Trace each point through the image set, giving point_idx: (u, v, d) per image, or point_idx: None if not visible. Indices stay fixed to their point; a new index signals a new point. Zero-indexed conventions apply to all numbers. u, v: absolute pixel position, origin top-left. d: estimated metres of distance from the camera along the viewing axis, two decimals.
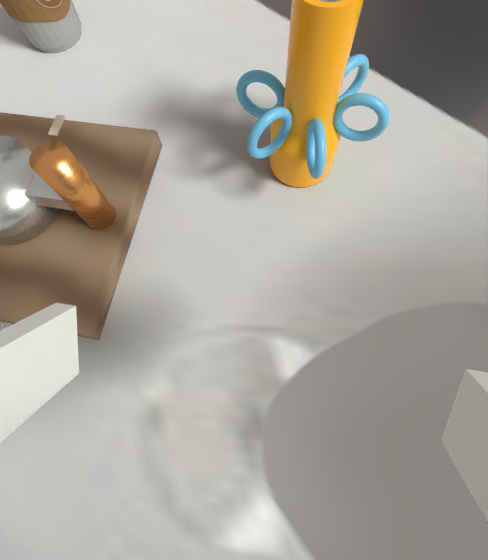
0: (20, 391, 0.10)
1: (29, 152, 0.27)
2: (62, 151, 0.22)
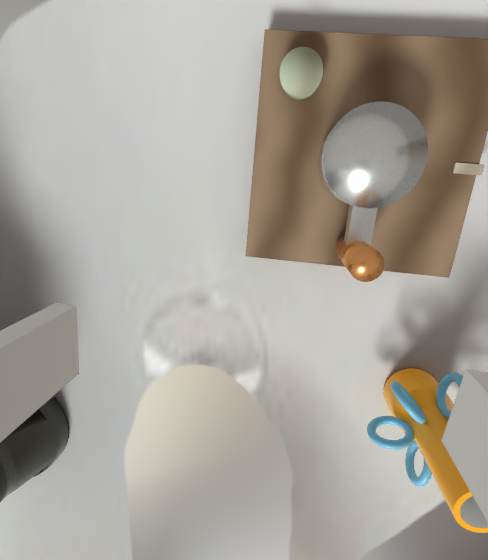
0: (20, 391, 0.10)
1: (402, 196, 0.27)
2: (371, 275, 0.26)
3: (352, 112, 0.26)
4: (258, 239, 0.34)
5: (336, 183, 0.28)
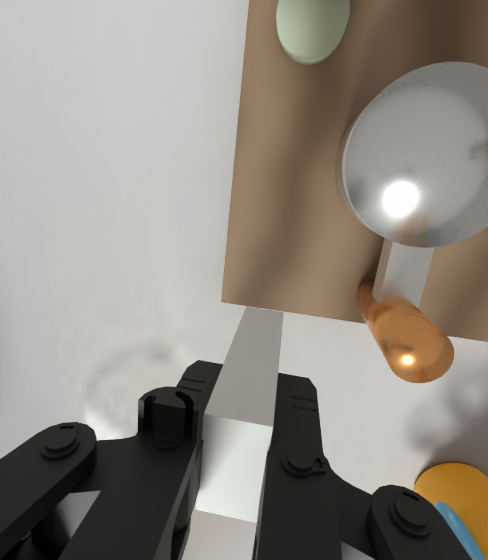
0: None
1: (479, 229, 0.16)
2: (428, 373, 0.14)
3: (401, 81, 0.15)
4: (240, 279, 0.23)
5: (367, 204, 0.16)
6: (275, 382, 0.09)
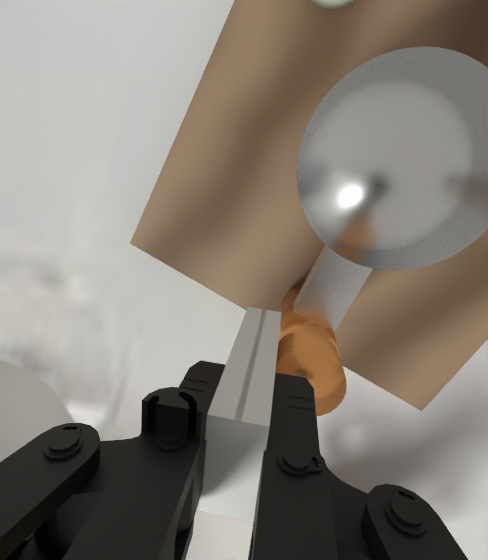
0: None
1: (426, 264, 0.14)
2: None
3: (394, 56, 0.12)
4: (159, 226, 0.19)
5: (313, 195, 0.13)
6: (272, 381, 0.09)
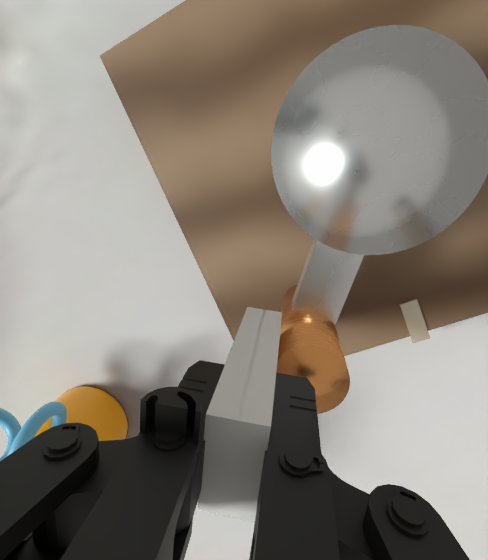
0: None
1: (417, 243, 0.13)
2: (317, 403, 0.12)
3: (351, 40, 0.12)
4: (139, 60, 0.17)
5: (292, 190, 0.13)
6: (273, 382, 0.09)
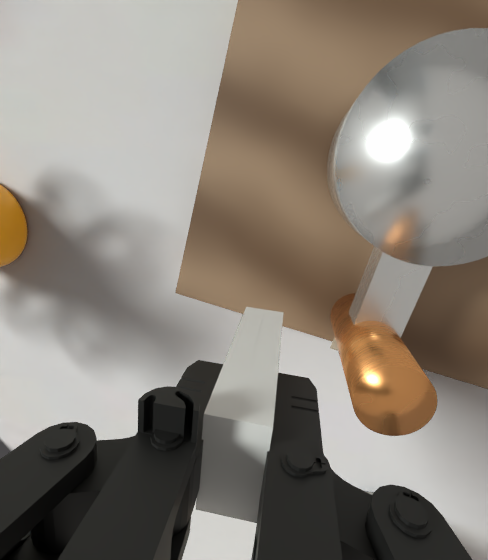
0: None
1: None
2: (400, 425, 0.11)
3: (425, 45, 0.11)
4: None
5: (358, 201, 0.13)
6: (275, 382, 0.09)
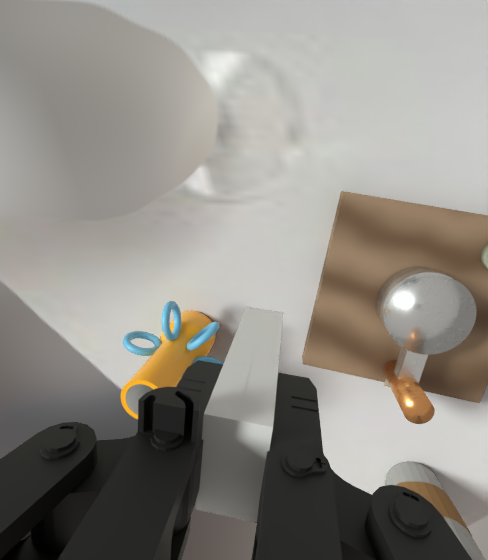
0: None
1: (450, 348, 0.32)
2: (422, 419, 0.31)
3: (415, 280, 0.31)
4: (358, 205, 0.34)
5: (395, 332, 0.33)
6: (275, 382, 0.09)
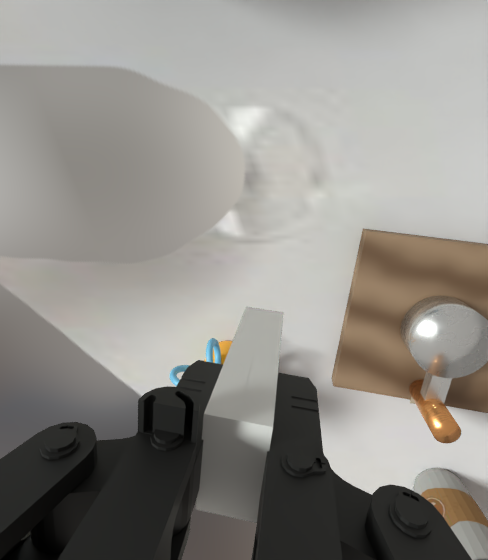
0: None
1: (472, 372, 0.35)
2: (450, 439, 0.34)
3: (438, 313, 0.34)
4: (381, 243, 0.37)
5: (421, 359, 0.36)
6: (275, 382, 0.09)
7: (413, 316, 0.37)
